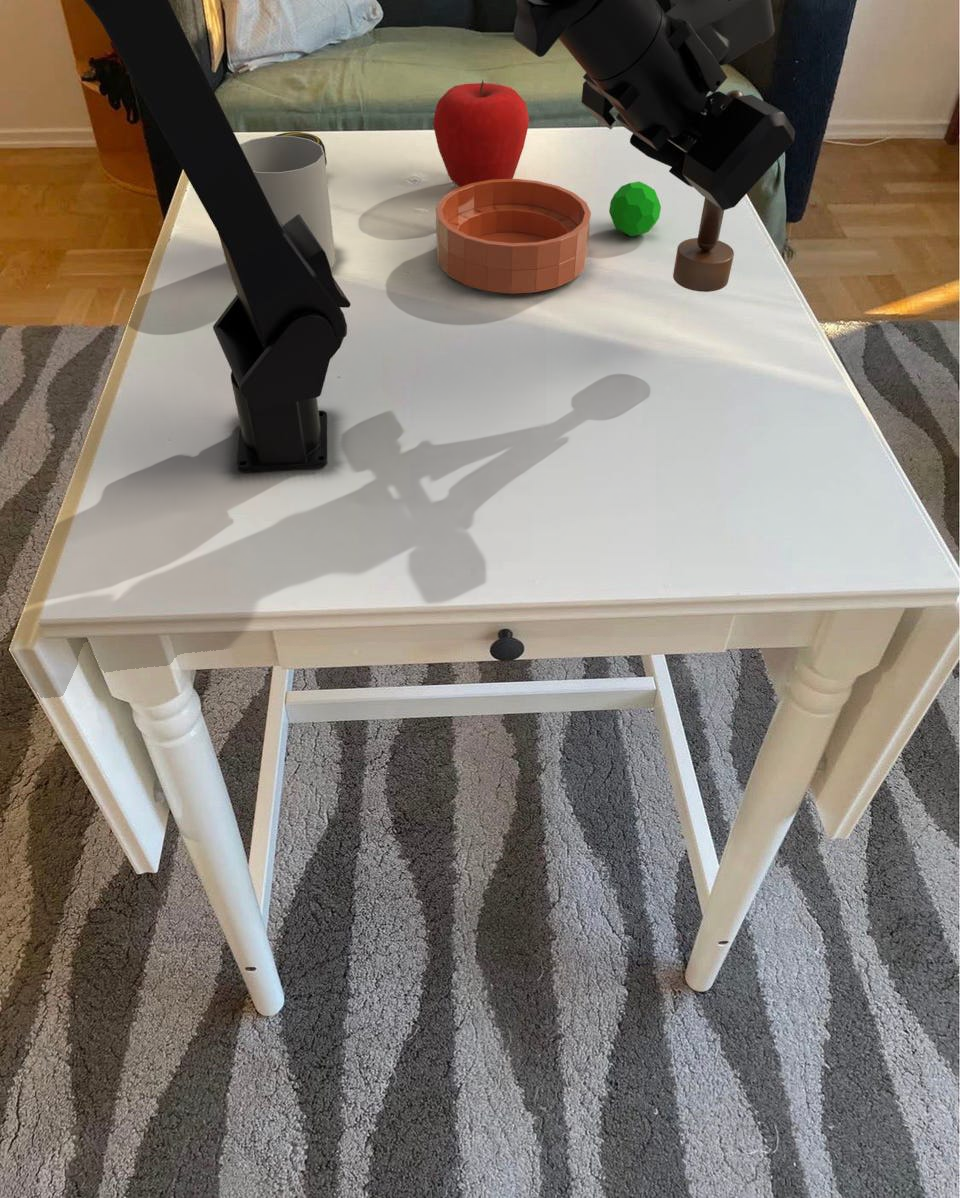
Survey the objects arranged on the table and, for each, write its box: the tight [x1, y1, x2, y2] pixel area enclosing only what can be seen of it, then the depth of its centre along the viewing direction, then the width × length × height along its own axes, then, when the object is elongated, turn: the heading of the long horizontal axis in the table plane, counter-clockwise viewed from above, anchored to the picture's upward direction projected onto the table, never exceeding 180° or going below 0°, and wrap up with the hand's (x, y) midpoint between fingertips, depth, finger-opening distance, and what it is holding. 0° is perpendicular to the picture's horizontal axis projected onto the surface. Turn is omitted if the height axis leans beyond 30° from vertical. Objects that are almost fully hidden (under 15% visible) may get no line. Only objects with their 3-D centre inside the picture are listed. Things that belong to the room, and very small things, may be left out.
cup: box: [239, 135, 336, 269], centre depth 88 cm, size 8×8×10 cm
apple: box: [432, 79, 530, 188], centre depth 99 cm, size 10×10×11 cm
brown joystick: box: [672, 89, 745, 293], centre depth 71 cm, size 4×4×14 cm
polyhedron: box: [608, 181, 662, 237], centre depth 95 cm, size 5×5×5 cm
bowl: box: [435, 178, 592, 294], centre depth 90 cm, size 14×14×5 cm
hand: (732, 187), depth 72 cm, fingers closed on brown joystick, 2 cm apart
